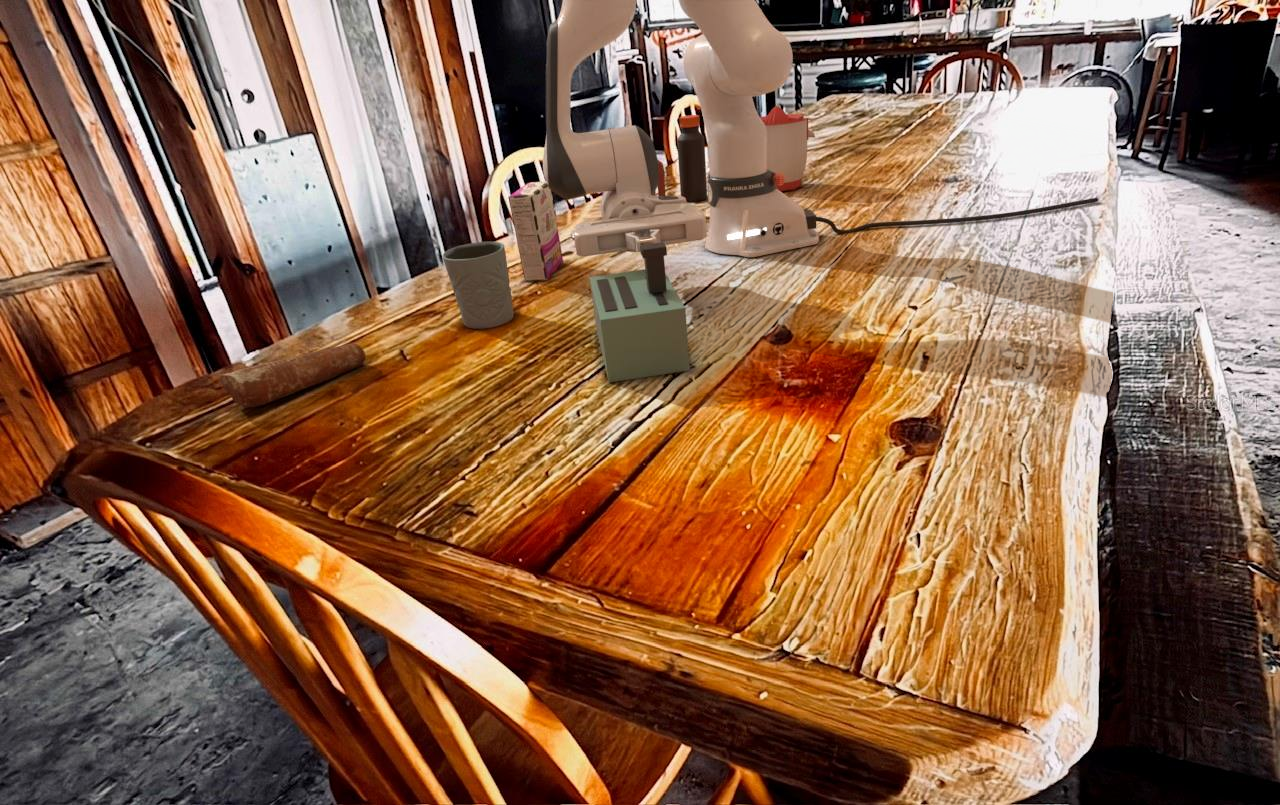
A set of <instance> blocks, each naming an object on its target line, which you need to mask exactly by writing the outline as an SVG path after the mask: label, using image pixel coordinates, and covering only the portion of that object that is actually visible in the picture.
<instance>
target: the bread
mask: <svg viewBox="0 0 1280 805" xmlns="http://www.w3.org/2000/svg"><path fill="white" fill-rule="evenodd" d="M366 358H367V357H366V352H365V350H364V349H363V347H361V345H359V344H357V343H353V342H352V343H351V342H350V343H348V344H343V345H339V346H338V345H337V346H334V347H330V348H326V349H321V350H317V351H313V352H308V353H304V354H298V355H295V356H290V357H286V358H282V359H281V358H280V359H277V360H275V361H274V360H273V361H270V362H265V363H260V364H256V365H253V366H247V367H244V368H240V369H237V370H235V371H231V372H226V373H223V374H221V375H219V376H218V377H219V381H220V383H221V385H222V387H223V389H224V390H225V392H226V393H227V394H228V395H230V396H231V400H232V401H233V402H234V403H235V404H237V405H241V406H242V407H243V408H244V409H247V408H257V407H259V406H264V405H267V404H269V403H273V402H275V401H277V400H280V399H283V398H286V397H288V396H291V395H293V394H295V393H297V392H301V391H302V390H305V389H308V388H310V387H313V386H315V385H319V384H321V383H323V382H327V381H329V380H331V379H334V378H336V377H337V376H340V375H342V374H344V373H346V372H350V371H352V370H353V369H356V368H358V367H360V366H362V365H363V364H364V363H365V361H366Z"/></svg>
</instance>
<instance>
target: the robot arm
mask: <svg viewBox="0 0 1280 805" xmlns="http://www.w3.org/2000/svg"><path fill="white" fill-rule="evenodd" d="M678 3H679V5H680V8H681V10H682V11H683V13H684V14H685V15H686V16H687V17H688V18H689V19H690V20H691V21H692V22H694V24H695V25H696V26H697V27H698V29H699V30H700V32H701V33H702V34H700V35H698V36H697V37H695V38H694V39H692V40H691V41H690V43H689V44H688V45H687V47H686V49H685V50H684V55H683V62H682V64H683V72H684V75H685V77H686V79H687V81H688V82H689V83H690V85H691V86H692V88H693V90H694V92H695V94H696V97H697V100H698V103H699V107H700V110H701V113H702V117H703V121H704V122H703V123H704V126H705V130H706V136H707V151H708V167H709V174H708V175H707V182H706V183H707V201H708V203H709V220H708V221H709V222H708V227H707V218H706V215H705V214H704V212H703V211H702V210H701V209H700V208H699V207H697V206H696V205H694V204H692V203H689V202H686V198H685V197H683V196H681V195H678V196H677V195H666V196H658V195H656V196H653V194H654V192H655V190H657V189H658V183H659V167H658V160H659V159H658V154H657V150H656V148H655V145H654V142H653V141H652V139H651V137H650V136H649V135H648V134H647V133H646V132H645V130H644V129H642V128H641V127H640V126H637V125H636V124H634V125H627V126H625V125H624V126H618V127H609V128H607V129H601V130H593V131H587V132H586V131H585V132H574V131H573V130H572V128H571V105H572V104H571V100H572V99H571V98H572V96H571V95H572V93H571V92H572V88H571V87H572V78H573V74H574V72H575V70H576V69H577V67H578V66H579V65H580V64H581V63H582V62H583V61H585V59H587V58H588V57H589V56H591V55H593V54H594V53H596V52H598V51H600V50H601V49H603V48H604V47H606V46H608V45H609V44H611V43H612V42H614V41H615V40H617V39H618V38H619V37H621V35H623V34H624V33H625V32H626V30H627V29H628V28H629V27H630V25H631V23H632V21H633V20H634V17H635V14H636V10H637V0H562V4H561V8H560V12H559V15H558V17H557V19H556V20H554V21H553V22H551V23H550V25H549V28H548V31H547V38H546V64H545V127H546V128H545V129H546V130H545V133H546V135H545V141H544V142H545V144H544V147H543V148H544V149H543V155H542V156H543V157H542V172H543V176H544V180H545V182H547V184H548V188H549V189H550V190H551V192H553V193H554V194H556V195H557V196H559V197H560V198H562V199H565V200H567V201H569V200H574V199H578V198H582V197H586V196H587V195H593V194H599V193H602V192H604V193H603V196H602V195H601V201H600V212H601V218H602V219H595V220H590V221H584V222H580V223H578V224H577V225H576V226H575V228H574V230H572V231H570V238H571V239H572V240H573V241H574V245H575V252H576V255H577V256H579V257H591V256H597V255H605V254H612V253H620V252H629V253H641V252H640V245H645V244H652V243H660V242H663V243H664V244H665V246H668V245H676V244H682V243H683V244H684V243H689V242H690V243H691V242H697V241H702V240H704V239H706V241H705V244H704V247H705V249H706V250H708V251H709V252H711V253H715V254H720V255H721V254H722V255H728V256H729V255H732V256H741V257H745V258H755V257H756V258H757V257H761V256H766V255H771V254H775V253H781V252H785V251H790V250H794V249H799V248H805V247H808V246H809V247H810V246H814V245H817V244H819V242H820V235H819V233H818V232H817V231H816V230H815V229H817V222H819V223H824V224H826V225H829V227H830V228H831V230H832V231H833V232H834V233H836V234H839V235H846V234H850V233H851V234H852V233H855V232H856V233H857V232H860V231H863V230H866V229H873V228H881V227H883V228H884V227H901V226H903V227H904V226H905V227H906V226H921V225H938V224H939V225H940V224H941V225H942V224H955V223H965V222H977V221H978V222H979V221H989V220H997V219H1005V218H1012V217H1019V216H1025V215H1031V214H1038V213H1045V212H1049V211H1056V210H1060V209H1065V208H1072V207H1077V206H1083V205H1088V204H1093V203H1097V202H1099V197H1091V198H1087V199H1081V200H1076V201H1071V202H1065V203H1064V202H1063V203H1059V204H1053V205H1048V206H1042V207H1037V208H1030V209H1024V210H1018V211H1011V212H1003V213H994V214H987V215H977V216H965V217H963V216H962V217H952V218H939V219H938V218H937V219H936V218H935V219H923V220H922V219H921V220H902V221H901V220H900V221H899V220H898V221H880V222H871V223H865V224H862V225H859V226H857V227H856V226H855V227H852V228H850V229H849V228H848V229H839V228H838V227H837V226H836V224H835V222H834V221H832V220H831V219H828V218H826V217H820V216H817V214H816V213H815V212H813V211H812V210H811V209H803V207H802V206H801V205H800V204H799V203H798V202H796V201H794V200H793V199H792V198H791V197H789V196H788V195H787V194H785V193H783V191H779V190H778V189H776V188H777V185H779V186H781V185H783V184H784V183H783V182H785V181H784V180H786V179H784V178H785V177H784V175H782V174H780V173H777V174H776V173H774V172H772V171H770V170H768V169H767V130H766V126H765V124H764V122H763V121H762V120H761V118H760V117H761V116H760V114H759V113H758V111H757V109H756V106H755V103H754V99H753V97H760V96H762V95H766V94H770V93H772V92H775V91H777V90H778V89H780V88H781V87H782V86H783V85H784V84H785V83H786V82H787V80H788V79H789V76H790V74H791V72H792V69H793V63H794V62H793V60H794V55H793V49H792V46H791V43H790V42H789V39H788V38H787V37H786V36H785V35H784V34H783V32H780V30H778V29H776V28H775V26H774V25H772V23H770V21H769V20H768V18H767V17H766V15H765V14H764V12H763V11H762V9H761V8H760V6H759V5H758V2H757V0H678ZM657 159H658V160H657ZM707 228H708V229H707Z"/></svg>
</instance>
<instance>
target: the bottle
mask: <svg viewBox="0 0 1280 805" xmlns="http://www.w3.org/2000/svg"><path fill="white" fill-rule="evenodd" d="M700 121H701V120H700V115H699V114H690V115H689V114H688V115H682V116H680V117H679V129H680V130H681V133H680V134H679V136H678V137H677V140H676V142H677V143H676V145H677V146H676V147H677V159H678V160H677V161H678V171H679V172H678V173H679V174H678V175H679V188H680V196H683V197H685V198H686V202H687V203H695V202H701V201H705V200H706V199H708V187H707V183H708V182H707V166H706V147H705V146H706V145H705V136H704V134H702V133H701V132H700V129H699V128H700V126H701V122H700Z"/></svg>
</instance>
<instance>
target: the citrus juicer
mask: <svg viewBox="0 0 1280 805" xmlns="http://www.w3.org/2000/svg"><path fill="white" fill-rule="evenodd" d="M759 117H760V118H761V120H762V121H763V122H764V124H765V126H766V130H767V169H768V170H770V171H772V172H774V173H776V174H777V173H780V174H782V175H784V177H785V178H784V179H786V180H784V181H785V182H783V183H784V184H783V185H781V186H779V185H777V188H776V189H778V190H779V191H781V192H785V191H794V190H796V189H797V188H799V187H800V186H801V183H802V181H803V178H804V174H805V171H806V166H807V159H808V141H809V138H815V139H816V135H815V132H813V131H811V130H810V129H809V117H806V118H805V116H804V114H800V113H799V114H797V113H795V114H794V113H792V114H791V113H789V114H788V113H786V112H785V110H783V108H781V107H780V106H779V105H775V106H774V107H772V109H771V110H770V112H769V113H768V114H767V115H764V116H759Z"/></svg>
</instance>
